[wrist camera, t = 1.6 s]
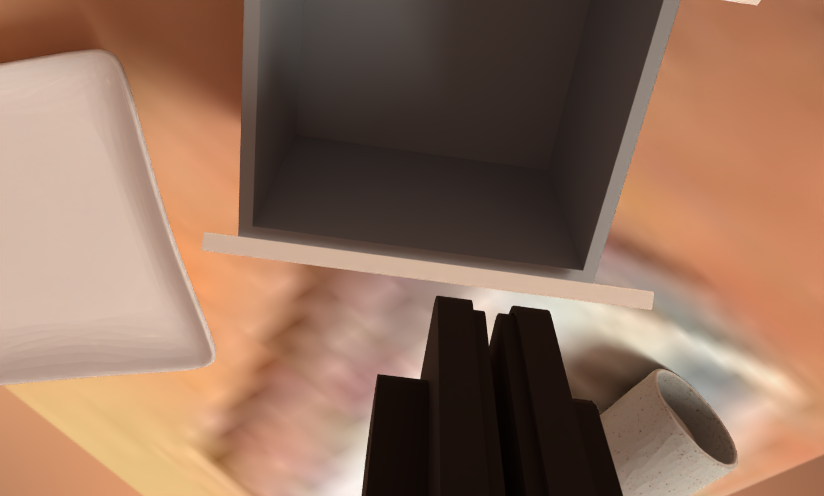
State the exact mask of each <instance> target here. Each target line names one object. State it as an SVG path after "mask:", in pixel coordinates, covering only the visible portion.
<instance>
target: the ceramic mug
mask: <svg viewBox="0 0 824 496" xmlns="http://www.w3.org/2000/svg"><path fill="white" fill-rule="evenodd" d="M600 418H601V422H602V425H603V428H604V432H605V435H606V439H607V442H608V445H609V449H610V452H611V456H612V459H613V462H614V466H615V469H616V473H617V476H618V480H619V483H620V486H621V490H622V493H623V496H689V495H691V494H693V493H695V492H696V491H698V490H700V489H702V488H703V487H705V486H707V485H709V484H711V483H712V482H714V481H716V480H718V479H719V478H721V477H723V476H725V475H726V474H728V473H730V472H731V471H732V470H733V469H734V468H735V467H736V466H737V464H738V455H737V450H736V448H735V444H734V442H733V440H732V438H731V436H730V434H729V433H728V431H727V429H726V428H725V426H724V424H723V423H722V421H721V420H720V418H719V417H718V416H717V414H716V413H715V412H714V410H713V409H712V408H711V406H710V405H709V404H708V403H707V402H706V401H705V399H704V398H703V397H702V396H701V395H700V394H699V393H698V392H697V391H696V390H695V389H693V388H692V387H691V386H690V385H689V384H688V383H687V382H686V381H685V380H683V379H682V378H680V377H679V376H678V375H676V374H674V373H673V372H670V371H668V370H666V369H656V370H654V371H653V372H651V373H650V374H649V375H648V376H647V377H646V378H645V379H644V380H642V381H641V382H640V383H638V384H637V385H636V386H634V387H633V388H632V389H631V390H629V391H628V392H627V393H626V394H625V395H623V396H622V397H621V398H620V399H619V400H618V401H616V402H615V403H614V404H613V405H612V406H611V407H609V408H608V409H607V410H606V411H604V412H603V413H602V414H600Z"/></svg>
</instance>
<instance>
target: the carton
mask: <svg viewBox="0 0 824 496" xmlns="http://www.w3.org/2000/svg"><path fill="white" fill-rule="evenodd" d="M679 3H680V0H244V22H243V64H242V106H241V148H240V189H239V231H238V236H239V237H247V238H254V239H262V240H269V241H276V242H284V243H291V244H299V245H306V246H314V247H321V248H329V249H336V250H344V251H351V252H359V253H366V254H374V255H381V256H389V257H396V258H404V259H411V260H419V261H426V262H434V263H441V264H449V265H456V266H464V267H471V268H479V269H486V270H494V271H501V272H509V273H516V274H524V275H531V276H539V277H546V278H554V279H561V280H569V281H576V282H584V283H591V284H593V282H594V279H595V275H596V272H597V269H598V266H599V262H600V259H601V256H602V253H603V249H604V246H605V243H606V240H607V236H608V233H609V230H610V227H611V223H612V220H613V217H614V214H615V211H616V207H617V204H618V201H619V198H620V194H621V191H622V188H623V185H624V181H625V178H626V175H627V172H628V168H629V165H630V162H631V159H632V155H633V152H634V149H635V146H636V143H637V139H638V136H639V133H640V130H641V126H642V123H643V120H644V117H645V113H646V110H647V107H648V104H649V100H650V97H651V94H652V91H653V87H654V84H655V81H656V78H657V74H658V71H659V68H660V65H661V62H662V58H663V55H664V52H665V49H666V45H667V42H668V39H669V36H670V32H671V29H672V26H673V23H674V19H675V16H676V13H677V10H678V6H679Z"/></svg>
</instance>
